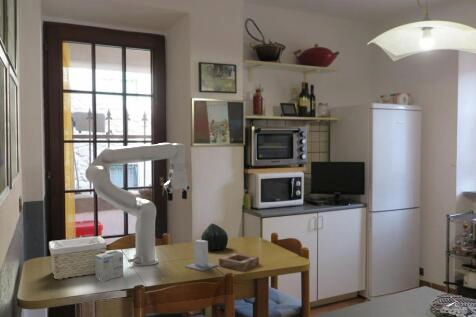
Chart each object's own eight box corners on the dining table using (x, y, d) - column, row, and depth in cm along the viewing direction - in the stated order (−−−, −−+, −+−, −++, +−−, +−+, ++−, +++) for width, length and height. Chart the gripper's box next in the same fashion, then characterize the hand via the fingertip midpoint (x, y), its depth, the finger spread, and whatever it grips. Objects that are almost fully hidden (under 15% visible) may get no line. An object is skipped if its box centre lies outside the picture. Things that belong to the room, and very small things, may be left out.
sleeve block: (242, 271, 197) (242, 263, 197) (219, 265, 205) (218, 258, 205) (258, 264, 208) (258, 257, 208) (236, 259, 216) (236, 252, 216)
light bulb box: (115, 273, 194) (115, 250, 194) (124, 276, 190) (123, 252, 189) (94, 278, 186) (94, 254, 185) (103, 282, 181) (102, 257, 181)
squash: (226, 243, 228) (226, 219, 238) (199, 244, 228) (200, 220, 238) (228, 255, 239) (228, 232, 248) (202, 256, 239) (203, 233, 249)
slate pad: (202, 271, 196) (202, 270, 196) (185, 267, 203) (185, 265, 203) (217, 265, 205) (217, 264, 205) (200, 262, 212) (200, 260, 212)
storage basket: (51, 281, 182) (50, 248, 181) (48, 271, 196) (48, 240, 196) (107, 273, 193) (107, 242, 192) (101, 264, 207) (101, 235, 207)
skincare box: (208, 265, 203) (208, 240, 203) (202, 267, 200) (202, 242, 200) (199, 263, 207) (199, 238, 207) (193, 265, 204) (193, 240, 204)
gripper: (169, 168, 211) (168, 201, 211) (194, 167, 224) (194, 198, 224) (159, 167, 216) (159, 200, 216) (185, 166, 229) (185, 197, 229)
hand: (177, 199), depth 220 cm, fingers open, 9 cm apart
